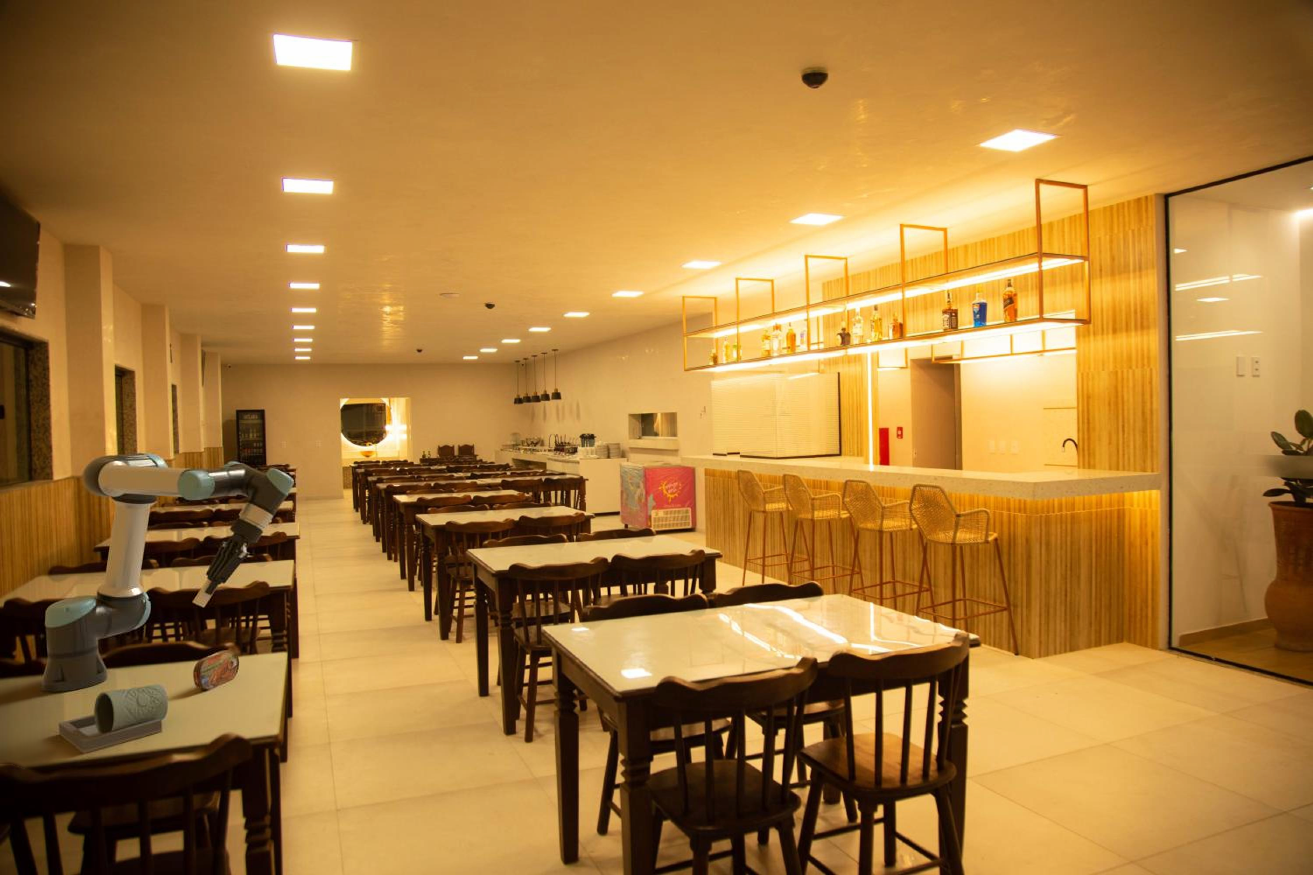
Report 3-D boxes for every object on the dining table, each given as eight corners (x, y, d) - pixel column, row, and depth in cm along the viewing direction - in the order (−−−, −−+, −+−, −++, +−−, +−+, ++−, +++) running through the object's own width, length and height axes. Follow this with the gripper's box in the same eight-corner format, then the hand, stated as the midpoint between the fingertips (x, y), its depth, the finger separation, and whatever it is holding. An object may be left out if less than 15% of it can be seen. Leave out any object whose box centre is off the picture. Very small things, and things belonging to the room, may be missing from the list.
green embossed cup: (172, 690, 199) (116, 701, 189) (166, 731, 200) (110, 744, 190) (151, 675, 204) (96, 685, 195) (145, 715, 205) (90, 727, 195)
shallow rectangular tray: (59, 734, 197) (58, 722, 197) (134, 714, 209) (133, 704, 209) (83, 753, 184) (82, 741, 184) (162, 731, 196) (161, 720, 196)
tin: (202, 693, 223) (200, 661, 223) (191, 693, 224) (189, 661, 224) (240, 675, 238) (239, 646, 238) (231, 675, 239) (229, 646, 239)
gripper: (273, 533, 224) (220, 616, 215) (252, 526, 232) (201, 605, 224) (249, 520, 219) (194, 604, 210) (229, 513, 227) (175, 593, 219)
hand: (198, 604), depth 217 cm, fingers closed
